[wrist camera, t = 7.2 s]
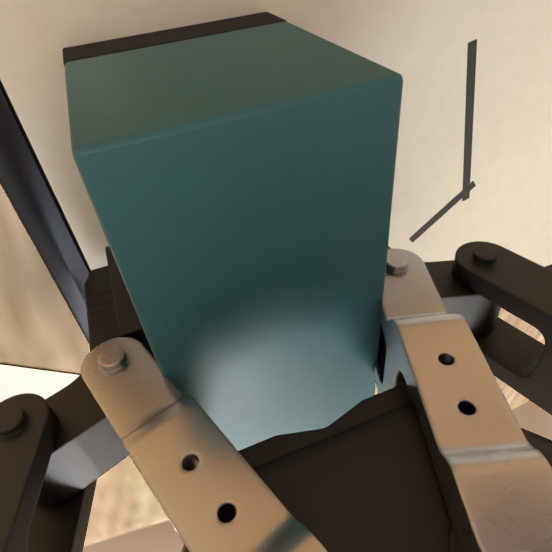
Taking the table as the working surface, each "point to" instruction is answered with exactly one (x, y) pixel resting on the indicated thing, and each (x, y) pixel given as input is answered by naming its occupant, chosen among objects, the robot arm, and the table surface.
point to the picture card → (31, 381)
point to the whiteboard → (354, 37)
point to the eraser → (244, 210)
